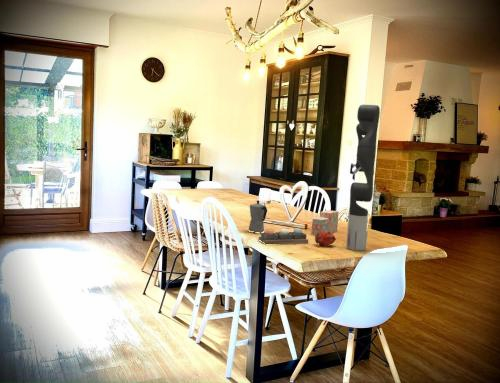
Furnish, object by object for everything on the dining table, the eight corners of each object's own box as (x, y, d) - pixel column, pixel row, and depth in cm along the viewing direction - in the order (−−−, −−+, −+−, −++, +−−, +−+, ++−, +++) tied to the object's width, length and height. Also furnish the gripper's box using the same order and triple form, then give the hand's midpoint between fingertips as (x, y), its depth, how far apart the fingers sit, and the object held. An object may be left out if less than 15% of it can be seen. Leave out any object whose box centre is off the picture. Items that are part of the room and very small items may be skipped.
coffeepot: (243, 230, 265) (244, 198, 263) (256, 229, 270) (258, 198, 268) (258, 235, 252) (260, 202, 250) (272, 234, 257) (274, 202, 255)
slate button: (303, 235, 241) (303, 229, 240) (295, 235, 239) (296, 230, 239) (299, 233, 245) (299, 228, 244) (291, 234, 243) (292, 228, 243)
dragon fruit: (311, 248, 235) (332, 251, 239) (319, 241, 228) (340, 245, 232) (310, 233, 240) (331, 236, 243) (317, 226, 233) (339, 229, 236)
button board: (308, 243, 239) (308, 235, 239) (266, 244, 230) (266, 236, 230) (299, 239, 248) (299, 231, 248) (258, 240, 240) (258, 231, 239)
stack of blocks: (320, 236, 261) (322, 214, 260) (311, 234, 265) (312, 213, 263) (337, 231, 278) (338, 211, 277) (327, 229, 282) (329, 209, 281)
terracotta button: (275, 236, 235) (275, 230, 234) (267, 236, 233) (267, 230, 233) (271, 234, 239) (272, 228, 238) (263, 234, 237) (264, 228, 237)
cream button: (289, 236, 238) (289, 230, 237) (281, 236, 236) (282, 230, 236) (285, 234, 242) (286, 228, 241) (278, 234, 240) (278, 228, 240)
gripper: (350, 157, 276) (349, 182, 283) (375, 158, 273) (373, 183, 280) (351, 152, 283) (349, 177, 290) (375, 154, 280) (373, 178, 286)
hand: (361, 180), depth 285 cm, fingers open, 8 cm apart
